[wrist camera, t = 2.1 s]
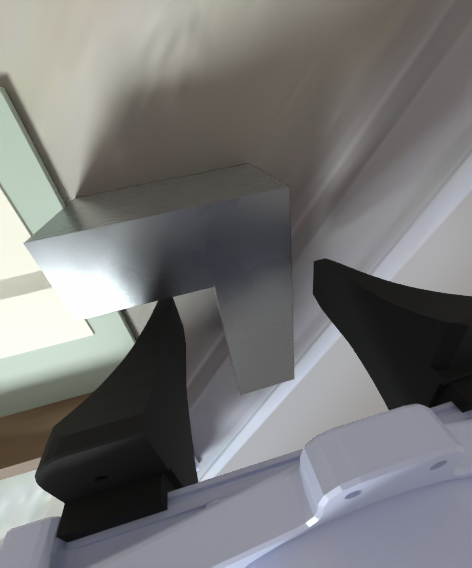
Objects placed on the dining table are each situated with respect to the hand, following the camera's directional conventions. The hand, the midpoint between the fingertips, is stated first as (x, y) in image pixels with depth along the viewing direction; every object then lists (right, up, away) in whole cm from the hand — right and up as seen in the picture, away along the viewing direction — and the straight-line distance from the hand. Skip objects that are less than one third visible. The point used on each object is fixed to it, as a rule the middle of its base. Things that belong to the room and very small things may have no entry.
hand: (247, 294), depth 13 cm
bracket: (-3, +1, +2) cm, 4 cm away
